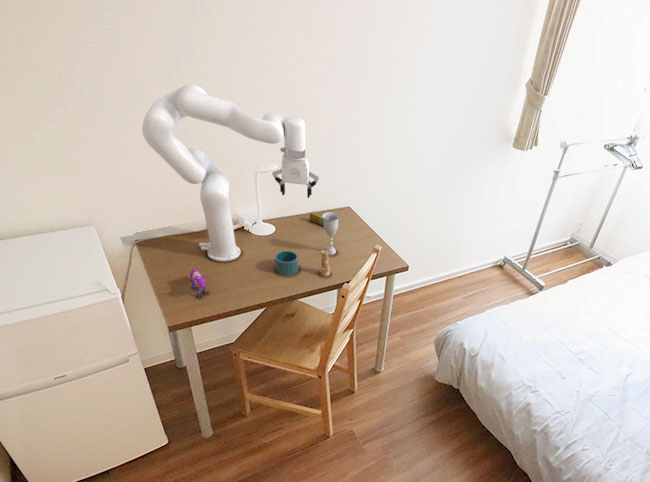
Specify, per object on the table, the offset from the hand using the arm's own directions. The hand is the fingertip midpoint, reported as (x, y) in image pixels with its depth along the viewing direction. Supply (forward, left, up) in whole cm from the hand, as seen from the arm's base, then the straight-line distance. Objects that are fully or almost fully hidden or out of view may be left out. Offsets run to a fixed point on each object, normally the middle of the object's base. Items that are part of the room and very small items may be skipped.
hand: (296, 195), depth 182 cm
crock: (-3, -13, -27) cm, 30 cm away
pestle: (+12, -16, -27) cm, 33 cm away
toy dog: (-33, -29, -27) cm, 52 cm away
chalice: (+14, +2, -27) cm, 30 cm away
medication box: (+8, +27, -27) cm, 39 cm away
